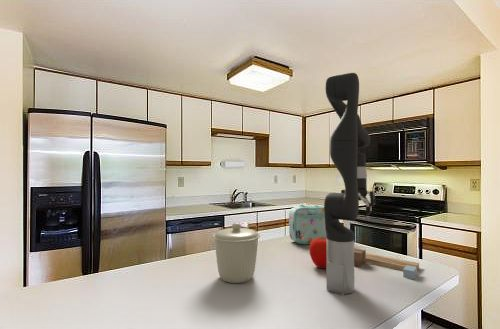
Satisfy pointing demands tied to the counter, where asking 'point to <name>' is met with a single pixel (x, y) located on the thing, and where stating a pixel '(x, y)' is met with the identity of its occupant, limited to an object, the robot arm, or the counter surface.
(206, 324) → the counter surface
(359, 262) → the walnut block
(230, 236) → the canister
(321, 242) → the tomato
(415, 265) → the oak board
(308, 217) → the lunch box
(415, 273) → the slate stop block
